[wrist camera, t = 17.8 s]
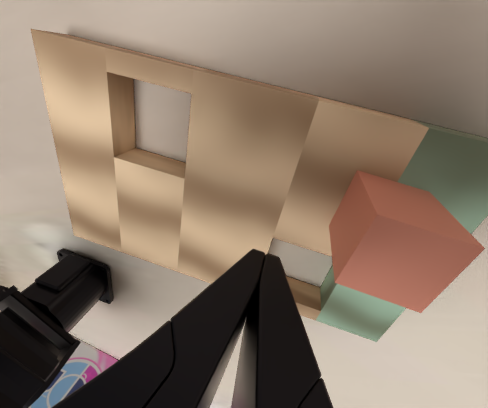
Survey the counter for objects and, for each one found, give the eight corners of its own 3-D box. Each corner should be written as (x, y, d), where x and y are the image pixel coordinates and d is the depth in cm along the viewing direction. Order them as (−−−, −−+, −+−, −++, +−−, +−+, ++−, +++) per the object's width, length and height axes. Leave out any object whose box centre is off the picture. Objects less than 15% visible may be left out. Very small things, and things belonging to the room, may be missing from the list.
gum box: (168, 384, 39) (106, 516, 27) (158, 400, 43) (100, 521, 31) (35, 315, 39) (-82, 418, 27) (38, 338, 43) (-63, 436, 31)
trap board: (370, 315, 22) (376, 341, 20) (94, 221, 25) (73, 235, 23) (504, 142, 13) (539, 155, 11) (66, 34, 17) (30, 28, 14)
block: (390, 245, 15) (420, 312, 11) (328, 225, 16) (334, 282, 11) (429, 191, 13) (484, 248, 9) (357, 170, 14) (377, 214, 9)
